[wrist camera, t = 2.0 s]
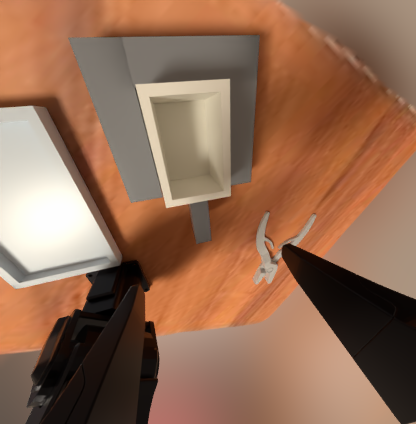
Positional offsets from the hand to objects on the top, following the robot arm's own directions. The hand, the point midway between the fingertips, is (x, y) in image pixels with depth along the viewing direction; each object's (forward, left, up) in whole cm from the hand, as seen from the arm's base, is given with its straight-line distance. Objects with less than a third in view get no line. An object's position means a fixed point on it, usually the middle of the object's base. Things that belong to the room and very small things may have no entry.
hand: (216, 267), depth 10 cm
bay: (+7, 0, -11) cm, 13 cm away
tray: (+1, +16, -11) cm, 19 cm away
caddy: (+3, 0, -11) cm, 12 cm away
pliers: (-13, -13, -12) cm, 22 cm away
